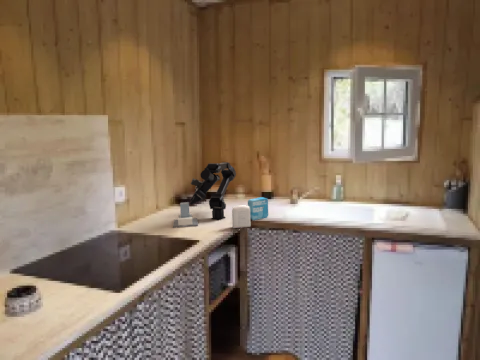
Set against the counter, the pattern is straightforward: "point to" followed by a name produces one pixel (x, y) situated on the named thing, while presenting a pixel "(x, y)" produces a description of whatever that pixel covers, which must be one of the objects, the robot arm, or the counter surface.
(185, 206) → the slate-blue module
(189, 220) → the board
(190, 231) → the counter surface
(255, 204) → the data package
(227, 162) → the robot arm
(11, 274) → the counter surface
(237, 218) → the photo printer
